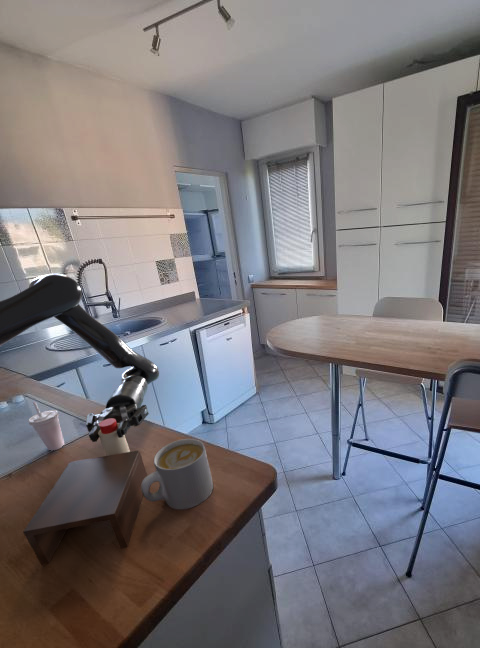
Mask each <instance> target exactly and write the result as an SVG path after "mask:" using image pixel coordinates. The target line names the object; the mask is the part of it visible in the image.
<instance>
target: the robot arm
mask: <svg viewBox="0 0 480 648" xmlns="http://www.w3.org/2000/svg"><path fill="white" fill-rule="evenodd" d="M82 296H83V293H82V288H81V285H80V284H79V283H78V282H77V281H76V280H75V279H74V278H72V277H70V276H67V275H65V274H60V273H49V274H44V275H41V276H38V277H36V278H33V280H32V281H31V282H30V284H29V285H28V287H27V288H25V289H24V290H22V291H20V292H18V293H17V294H14V295H13V296H10V297H8V298H5V299H2V300H0V347H2V346H3V345H5V344H6V343H8V342H10V341H11V340H13V339H15V338H16V337H18V336H20V335H21V334H22V333H24V332H25V331H27V330H29V329H31V328H33V327H35V326H36V325H39V324H40V323H42V322H45V321H47V320H50V319H52V318H54V319H56V320H58V321H59V322H60V323H62V324H63V325H65V326H66V327H67V328H69V329H70V330H71V331H72V332H74V333H75V334H76V335H77V336H78V337H80V338H81V339H82V340H83V341H84V342H85V343H87V344H88V345H89V347H91V348H92V349H93V350H94V351H95V352H97V354H99V355H100V356H101V357H102V358H103V359H104V360H105V361H106V362H107V363H109V364H110V365H111V366H112V367H113V368H115V369H119V370H120V369H124V368H128V367H130V368H128V369H126V370H125V371H124V372H122V374H121V376H120V378H121V380H120V381H121V383H120V384H119V386H118V387H116V389H114V391H113V393H112V394H111V396H110V397H109V398H108V400H107V401H106V404H105V409H103V410H101V412H100V413H98V414H94V412H90V413H88V414H87V417H86V421H85V426H86V429H87V431H88V437H89V439H90V441H91V442H92V443H96V442H98V440H100V437H99V435H98V432H99V431H100V430H101V429H100V427H99V423H100V422H102V421H103V420H106V419H109V418H114V419H115V420H116V422H117V424H119V426H118V428H117V430H116V431H117V434H118V437H119V438H121V437H123V435H125V436H126V434H127V433H128V431H129V429H131V428H132V427H139V426H140V425H141V424H142V422H143V421H144V420H145V419H146V418H147V417H148V415H150V413H149V410H148V407H147V405H146V404H143V402H144V400H145V395H146V393H147V391H148V387H149V385H150V384H151V383H153V382H155V381H156V380H157V379H159V377H160V370H159V367H158V366H157V365H156V364H155V362H153V361H152V360H150V359H148V358H147V357H145V356H143V355H141V354H139V353H138V352H136V351H135V350H133V349H132V348H131V347H130V346H128V344H127V343H126V342H125V341H124V340H123V339H122V338H121V337H120V336H118V335H117V334H116V333H115V332H113V330H111V329H110V328H108V327H107V326H106V325H104V324H102V323H101V322H100V321H98V320H97V319H95V318H94V317H93V316H92V315H91V314H90V313H88V312H87V311H86V310H85V309H84V308H83V306H81V304H80V302H81V300H82V298H83V297H82Z"/></svg>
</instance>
